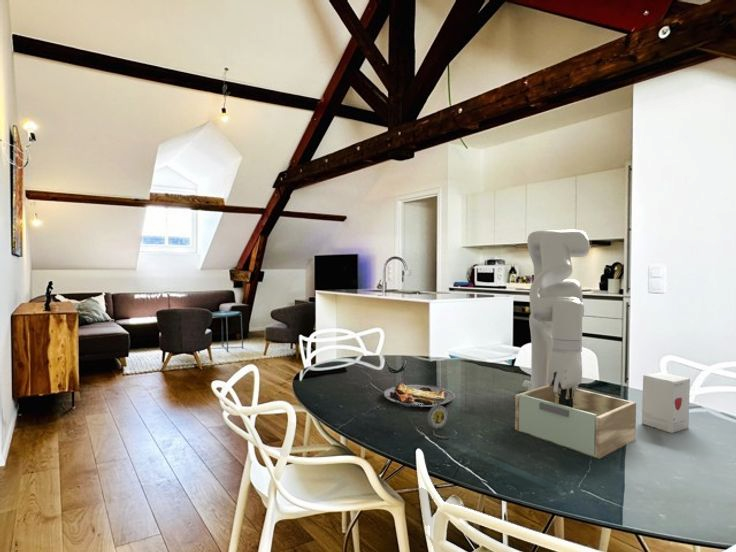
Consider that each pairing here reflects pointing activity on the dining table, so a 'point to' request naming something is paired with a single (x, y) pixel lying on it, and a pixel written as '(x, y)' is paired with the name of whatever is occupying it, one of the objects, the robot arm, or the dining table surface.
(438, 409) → the pocket watch
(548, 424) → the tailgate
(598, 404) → the crate
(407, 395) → the food plate
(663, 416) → the supplement box
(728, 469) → the dining table surface
